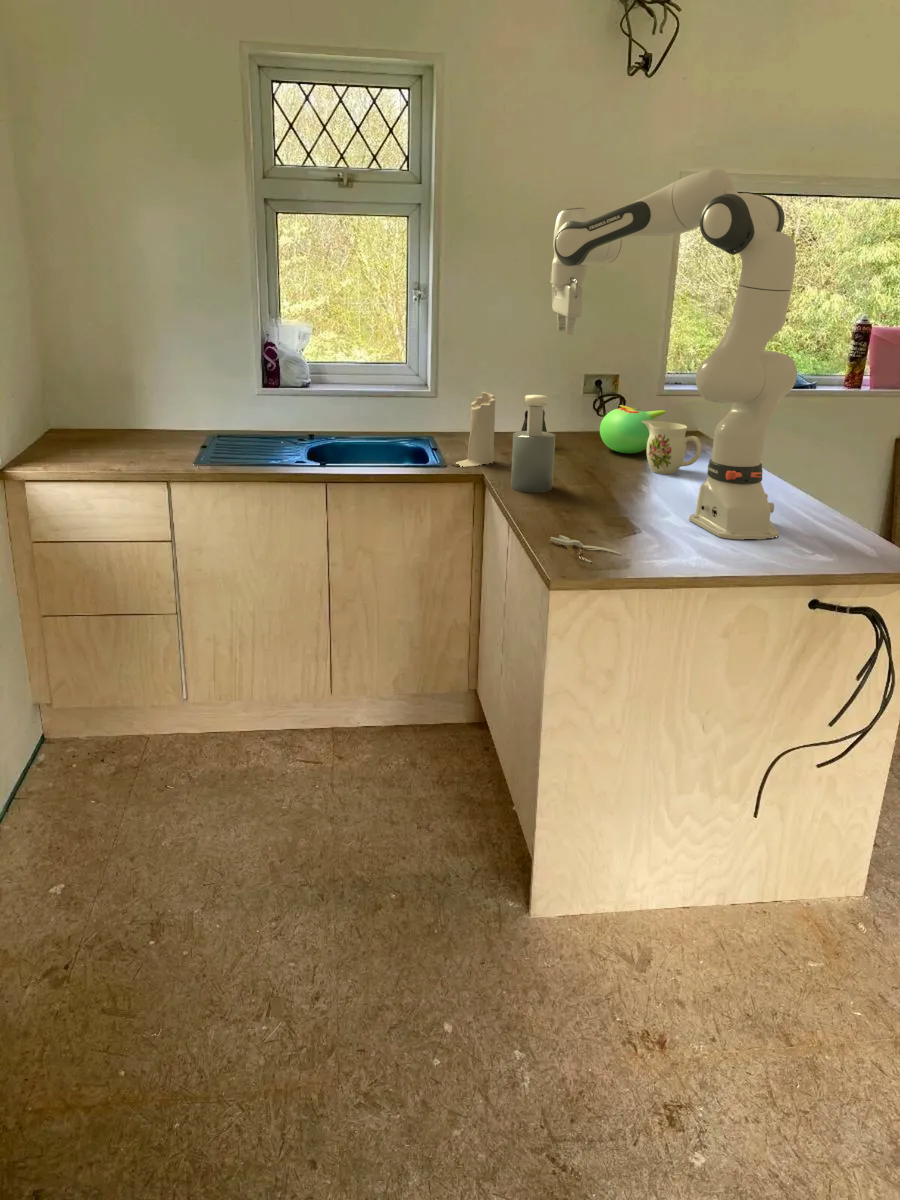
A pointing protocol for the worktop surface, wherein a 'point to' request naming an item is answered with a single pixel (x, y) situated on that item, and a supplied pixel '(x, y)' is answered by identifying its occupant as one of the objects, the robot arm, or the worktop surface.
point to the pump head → (535, 400)
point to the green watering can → (627, 429)
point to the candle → (481, 431)
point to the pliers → (568, 542)
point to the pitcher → (668, 446)
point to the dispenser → (533, 455)
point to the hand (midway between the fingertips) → (565, 333)
